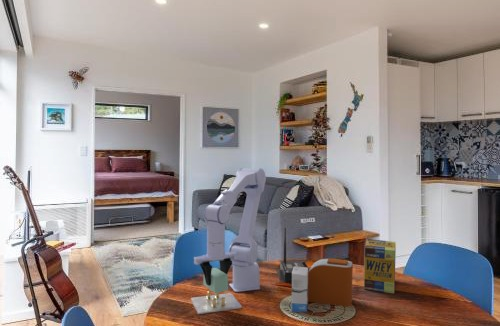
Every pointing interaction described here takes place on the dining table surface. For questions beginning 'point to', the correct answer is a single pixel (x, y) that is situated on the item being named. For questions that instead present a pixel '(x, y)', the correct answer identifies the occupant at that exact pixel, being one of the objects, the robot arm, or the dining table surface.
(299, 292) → the ink box
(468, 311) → the dining table surface
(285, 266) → the wireless controller
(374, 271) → the protein box
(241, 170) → the robot arm
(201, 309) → the plate
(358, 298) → the dining table surface
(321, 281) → the brown toaster
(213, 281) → the mint green cuboid
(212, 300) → the standoff posts
